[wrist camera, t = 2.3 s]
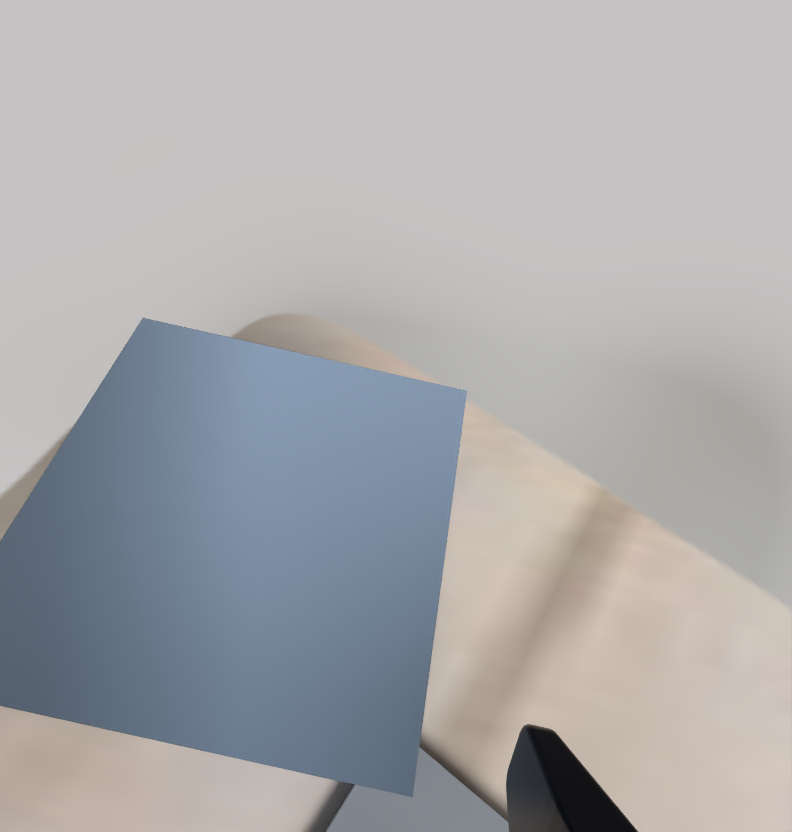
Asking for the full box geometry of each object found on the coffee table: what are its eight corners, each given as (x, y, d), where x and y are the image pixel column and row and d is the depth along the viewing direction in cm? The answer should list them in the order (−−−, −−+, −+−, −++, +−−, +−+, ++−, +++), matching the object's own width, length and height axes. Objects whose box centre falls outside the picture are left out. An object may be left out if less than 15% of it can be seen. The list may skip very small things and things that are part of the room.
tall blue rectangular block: (355, 762, 15) (412, 797, 6) (166, 720, 15) (-93, 684, 6) (401, 518, 19) (477, 307, 10) (254, 485, 19) (190, 242, 10)
